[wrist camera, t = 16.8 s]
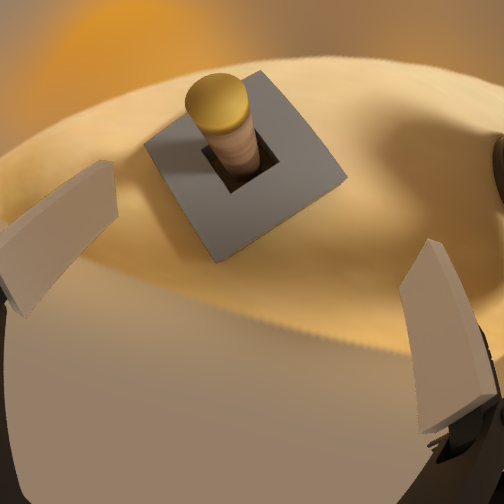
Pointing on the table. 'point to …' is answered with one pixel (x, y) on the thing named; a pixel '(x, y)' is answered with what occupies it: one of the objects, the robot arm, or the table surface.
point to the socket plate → (258, 189)
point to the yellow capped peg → (226, 123)
